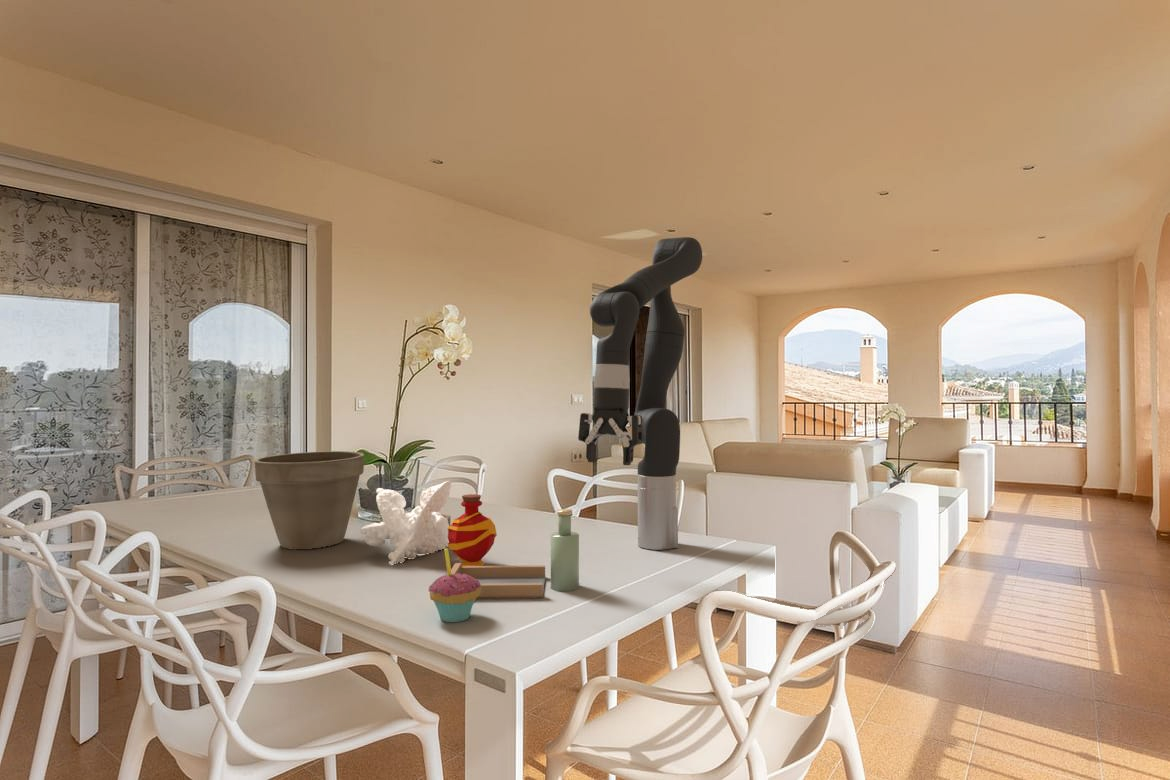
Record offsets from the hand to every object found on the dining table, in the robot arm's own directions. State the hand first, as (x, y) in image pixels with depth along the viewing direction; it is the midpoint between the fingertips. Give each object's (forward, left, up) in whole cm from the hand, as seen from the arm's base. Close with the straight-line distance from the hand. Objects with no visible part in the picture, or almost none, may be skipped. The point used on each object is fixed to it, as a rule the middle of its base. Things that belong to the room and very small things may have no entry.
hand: (608, 463), depth 137 cm
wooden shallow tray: (+22, +12, -22) cm, 34 cm away
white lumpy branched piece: (+45, -14, -22) cm, 52 cm away
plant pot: (+72, -26, -22) cm, 80 cm away
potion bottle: (+29, -4, -22) cm, 37 cm away
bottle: (+9, +12, -22) cm, 27 cm away
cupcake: (+27, +28, -22) cm, 45 cm away
